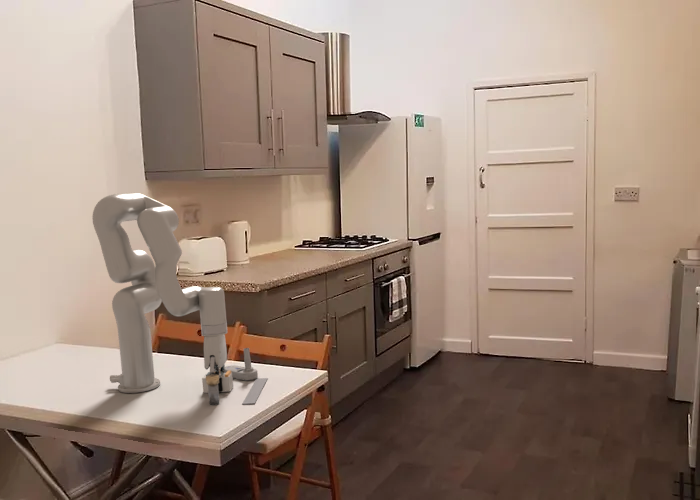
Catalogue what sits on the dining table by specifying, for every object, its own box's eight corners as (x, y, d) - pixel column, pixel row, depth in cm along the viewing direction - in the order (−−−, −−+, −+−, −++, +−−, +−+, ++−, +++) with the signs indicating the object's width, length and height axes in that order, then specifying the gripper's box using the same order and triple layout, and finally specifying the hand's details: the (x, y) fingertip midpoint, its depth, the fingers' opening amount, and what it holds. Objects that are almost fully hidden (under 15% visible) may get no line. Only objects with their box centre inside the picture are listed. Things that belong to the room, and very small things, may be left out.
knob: (206, 406, 194) (204, 378, 193) (209, 402, 198) (207, 374, 197) (219, 405, 194) (217, 377, 193) (222, 401, 197) (220, 373, 197)
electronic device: (229, 343, 229) (258, 347, 218) (232, 372, 229) (261, 378, 219) (216, 346, 225) (244, 351, 214) (219, 376, 226) (248, 382, 215)
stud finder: (203, 392, 206) (201, 376, 206) (207, 388, 211) (205, 371, 210) (230, 391, 206) (228, 374, 205) (233, 386, 210) (231, 370, 210)
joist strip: (242, 404, 193) (242, 403, 193) (256, 379, 217) (256, 378, 217) (254, 404, 193) (254, 403, 193) (267, 378, 217) (267, 378, 217)
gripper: (208, 323, 215) (213, 381, 217) (194, 336, 198) (199, 398, 200) (232, 322, 214) (237, 379, 216) (220, 334, 198) (225, 397, 200)
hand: (219, 388), depth 208 cm, fingers closed on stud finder, 4 cm apart
